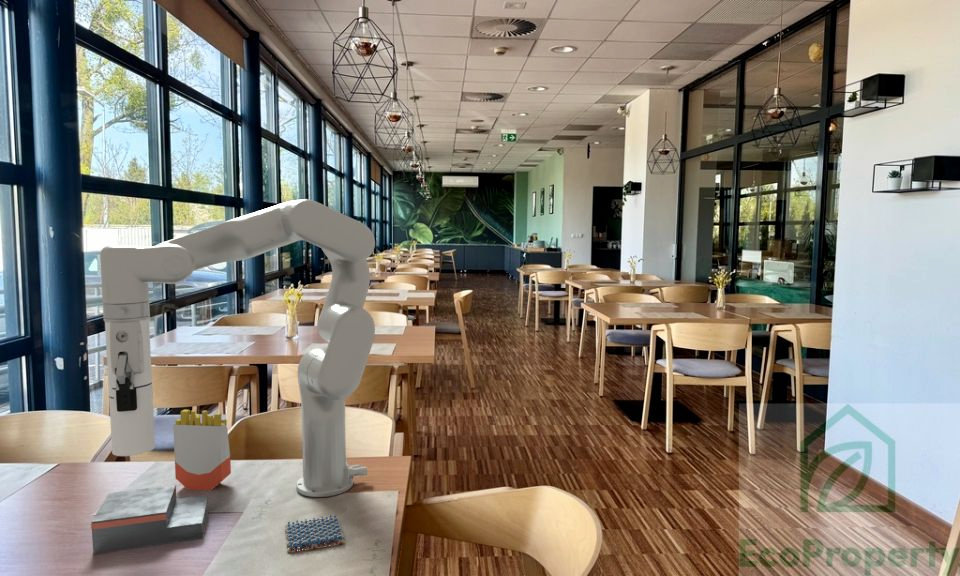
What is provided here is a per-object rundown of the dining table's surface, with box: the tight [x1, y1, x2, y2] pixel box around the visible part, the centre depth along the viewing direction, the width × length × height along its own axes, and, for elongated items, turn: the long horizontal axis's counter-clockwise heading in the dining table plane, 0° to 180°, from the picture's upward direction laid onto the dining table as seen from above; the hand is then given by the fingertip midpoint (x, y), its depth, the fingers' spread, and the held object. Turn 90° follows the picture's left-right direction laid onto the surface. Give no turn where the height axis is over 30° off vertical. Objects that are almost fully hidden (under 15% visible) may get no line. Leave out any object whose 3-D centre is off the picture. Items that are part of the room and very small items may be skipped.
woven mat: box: [284, 515, 346, 553], centre depth 117 cm, size 10×11×2 cm
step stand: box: [90, 484, 210, 555], centre depth 119 cm, size 18×13×6 cm
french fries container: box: [172, 409, 232, 491], centre depth 139 cm, size 5×11×18 cm, turn 85°
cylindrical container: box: [104, 318, 156, 457], centre depth 116 cm, size 7×7×25 cm
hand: (131, 404), depth 116 cm, fingers closed on cylindrical container, 7 cm apart
